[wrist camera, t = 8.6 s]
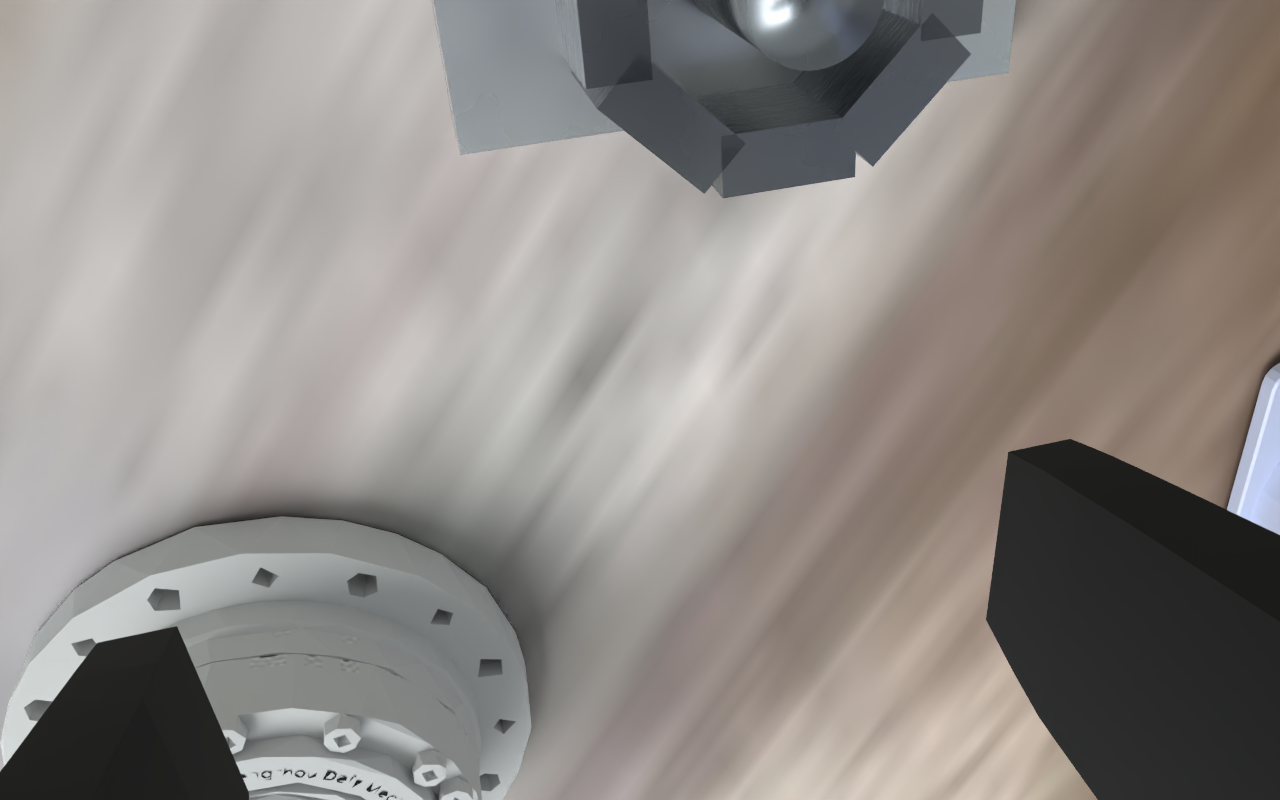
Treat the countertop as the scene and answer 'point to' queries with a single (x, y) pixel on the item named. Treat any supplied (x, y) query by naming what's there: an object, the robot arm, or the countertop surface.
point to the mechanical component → (314, 658)
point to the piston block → (714, 77)
